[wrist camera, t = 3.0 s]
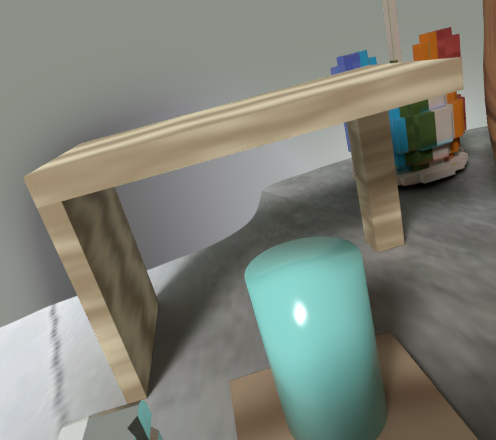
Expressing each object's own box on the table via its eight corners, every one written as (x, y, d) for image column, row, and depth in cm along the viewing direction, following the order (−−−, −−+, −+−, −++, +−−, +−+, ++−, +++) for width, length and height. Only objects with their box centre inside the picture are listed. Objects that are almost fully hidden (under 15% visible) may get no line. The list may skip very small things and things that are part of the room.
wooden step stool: (475, 297, 32) (461, 57, 26) (127, 403, 30) (22, 177, 24) (391, 234, 45) (368, 65, 39) (145, 306, 43) (80, 143, 37)
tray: (487, 463, 20) (486, 449, 20) (255, 540, 20) (250, 527, 19) (391, 342, 29) (389, 331, 29) (233, 391, 29) (229, 380, 29)
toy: (430, 150, 69) (413, -49, 59) (500, 168, 55) (493, -93, 44) (333, 180, 68) (297, -20, 57) (379, 205, 53) (341, -56, 43)
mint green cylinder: (406, 396, 24) (385, 245, 20) (350, 476, 20) (312, 310, 17) (323, 360, 28) (293, 230, 25) (265, 421, 25) (221, 280, 21)
